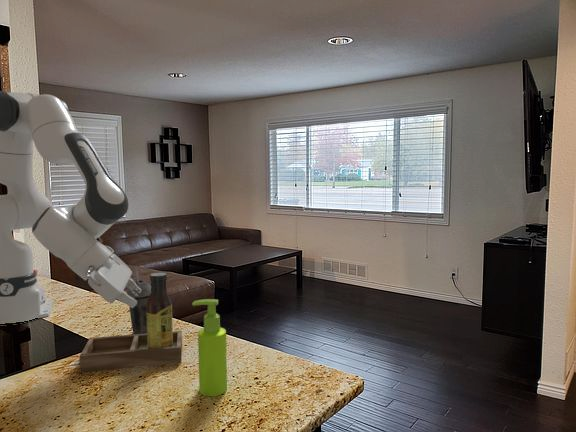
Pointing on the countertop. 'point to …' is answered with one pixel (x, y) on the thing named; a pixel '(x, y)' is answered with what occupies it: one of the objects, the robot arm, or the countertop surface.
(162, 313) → the sauce bottle
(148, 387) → the countertop surface
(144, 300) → the beverage cup
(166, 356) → the caddy
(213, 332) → the soap dispenser
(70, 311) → the countertop surface
